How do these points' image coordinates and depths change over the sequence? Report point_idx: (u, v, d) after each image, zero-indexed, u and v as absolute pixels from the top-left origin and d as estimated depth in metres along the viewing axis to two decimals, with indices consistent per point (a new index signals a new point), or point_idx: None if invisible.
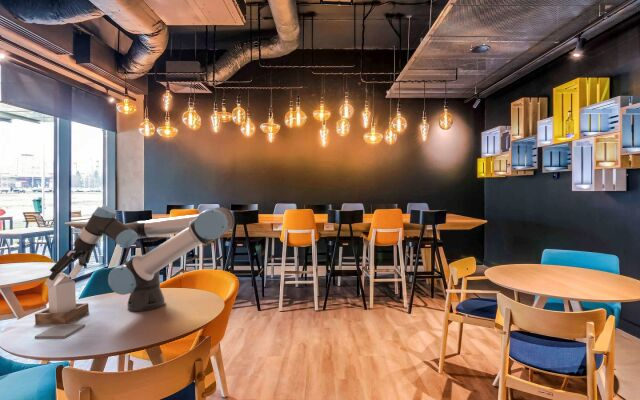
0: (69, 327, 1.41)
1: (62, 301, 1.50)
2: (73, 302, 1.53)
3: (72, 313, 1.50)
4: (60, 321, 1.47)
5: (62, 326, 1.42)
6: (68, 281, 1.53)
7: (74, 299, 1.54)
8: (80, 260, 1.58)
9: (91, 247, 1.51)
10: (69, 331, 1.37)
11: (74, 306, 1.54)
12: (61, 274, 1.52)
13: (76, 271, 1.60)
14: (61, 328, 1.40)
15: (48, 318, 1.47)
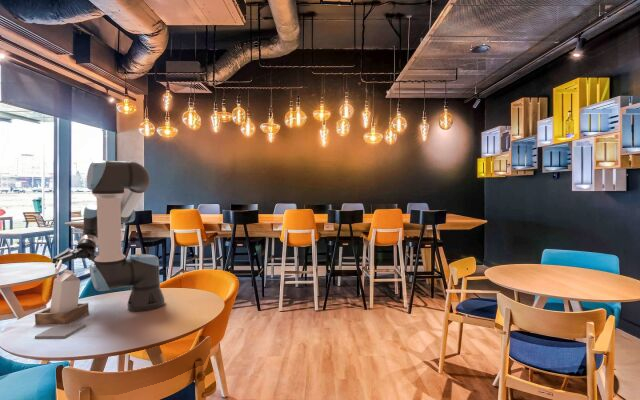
0: (69, 327, 1.41)
1: (66, 298, 1.51)
2: (75, 301, 1.54)
3: (72, 313, 1.50)
4: (60, 321, 1.47)
5: (62, 326, 1.42)
6: (74, 279, 1.55)
7: (77, 298, 1.54)
8: None
9: (83, 240, 1.71)
10: (69, 331, 1.37)
11: (75, 305, 1.54)
12: (68, 272, 1.54)
13: None
14: (61, 328, 1.40)
15: (48, 318, 1.47)
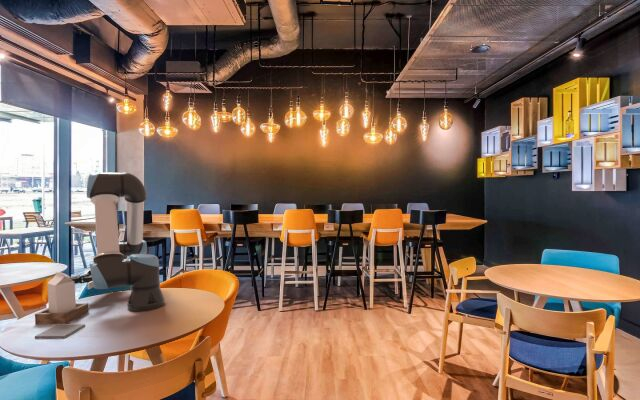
0: (69, 327, 1.41)
1: (62, 301, 1.50)
2: (73, 302, 1.53)
3: (72, 313, 1.50)
4: (60, 321, 1.47)
5: (62, 326, 1.42)
6: (68, 281, 1.53)
7: (73, 299, 1.53)
8: None
9: None
10: (69, 331, 1.37)
11: (73, 306, 1.53)
12: (61, 274, 1.52)
13: None
14: (61, 328, 1.40)
15: (48, 318, 1.47)
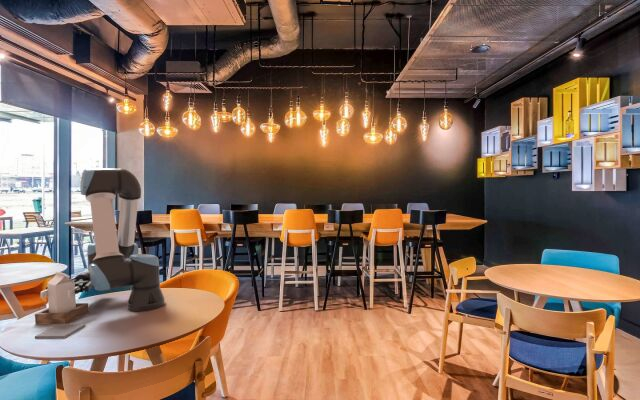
0: (69, 327, 1.41)
1: (62, 301, 1.50)
2: (73, 302, 1.53)
3: (72, 313, 1.50)
4: (60, 321, 1.47)
5: (62, 326, 1.42)
6: (68, 281, 1.53)
7: (73, 299, 1.53)
8: None
9: None
10: (69, 331, 1.37)
11: (73, 306, 1.53)
12: (61, 274, 1.52)
13: None
14: (61, 328, 1.40)
15: (48, 318, 1.47)
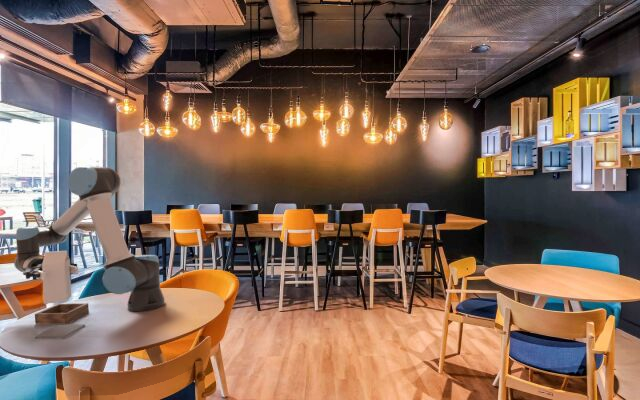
0: (69, 327, 1.41)
1: (67, 279, 1.42)
2: (70, 281, 1.46)
3: (72, 313, 1.50)
4: (60, 321, 1.47)
5: (62, 326, 1.42)
6: (65, 259, 1.44)
7: (70, 278, 1.46)
8: None
9: (35, 258, 1.50)
10: (69, 331, 1.37)
11: (70, 285, 1.46)
12: (58, 253, 1.42)
13: (71, 268, 1.45)
14: (61, 328, 1.40)
15: (48, 318, 1.47)
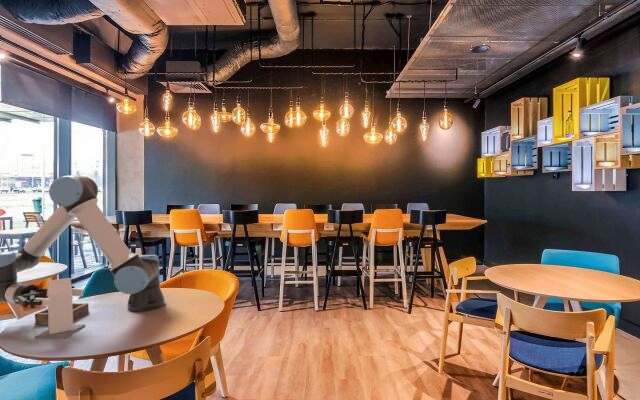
0: None
1: None
2: None
3: None
4: None
5: None
6: None
7: None
8: None
9: (22, 285, 1.41)
10: (69, 331, 1.37)
11: None
12: (61, 280, 1.38)
13: (74, 291, 1.43)
14: None
15: None
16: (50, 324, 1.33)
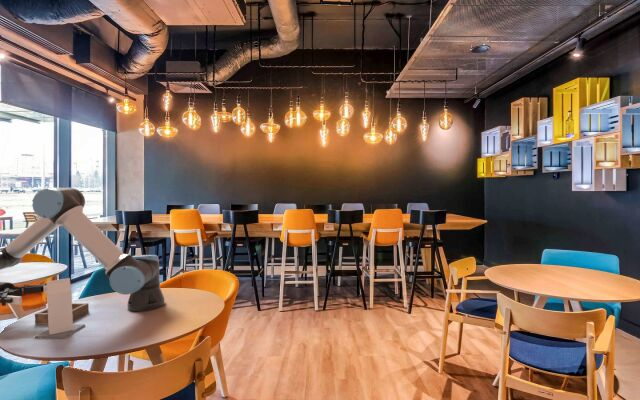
0: None
1: None
2: None
3: (72, 313, 1.50)
4: None
5: None
6: None
7: None
8: (36, 290, 1.48)
9: None
10: (69, 331, 1.37)
11: None
12: (60, 281, 1.38)
13: None
14: None
15: None
16: (50, 324, 1.33)
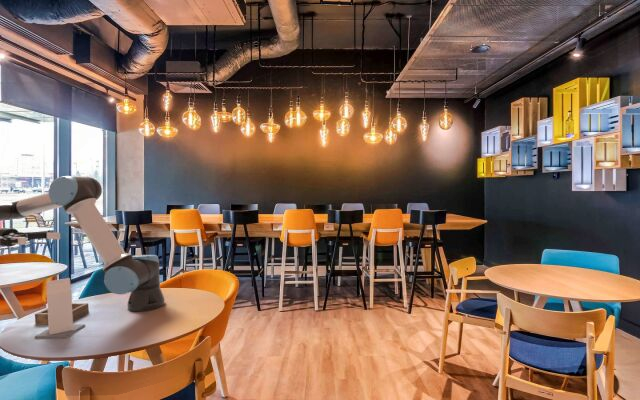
0: None
1: None
2: None
3: (72, 313, 1.50)
4: None
5: None
6: None
7: None
8: (39, 236, 1.55)
9: (3, 229, 1.51)
10: (69, 331, 1.37)
11: None
12: (60, 281, 1.38)
13: (52, 234, 1.54)
14: None
15: None
16: (50, 324, 1.33)
